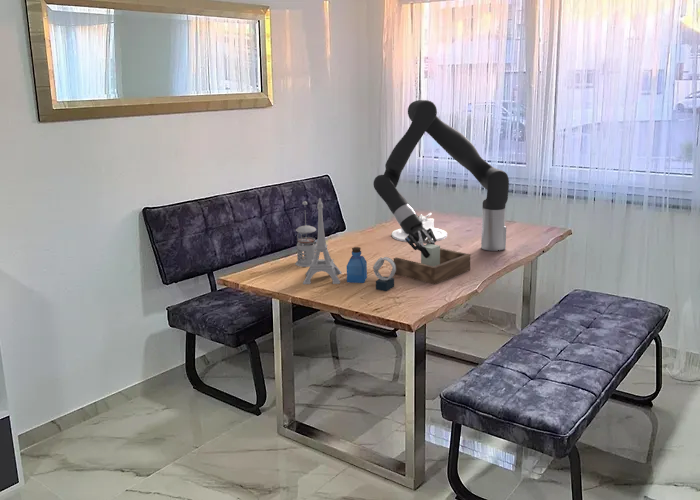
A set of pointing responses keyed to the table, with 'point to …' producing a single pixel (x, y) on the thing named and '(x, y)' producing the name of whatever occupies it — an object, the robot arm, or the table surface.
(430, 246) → the sage block
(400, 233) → the dish
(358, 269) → the perfume bottle
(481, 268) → the table surface
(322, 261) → the eiffel tower
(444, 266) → the walnut u-shaped frame
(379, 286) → the watch
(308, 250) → the french press
